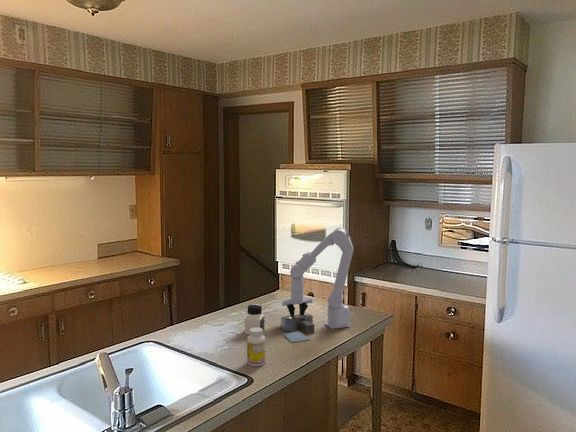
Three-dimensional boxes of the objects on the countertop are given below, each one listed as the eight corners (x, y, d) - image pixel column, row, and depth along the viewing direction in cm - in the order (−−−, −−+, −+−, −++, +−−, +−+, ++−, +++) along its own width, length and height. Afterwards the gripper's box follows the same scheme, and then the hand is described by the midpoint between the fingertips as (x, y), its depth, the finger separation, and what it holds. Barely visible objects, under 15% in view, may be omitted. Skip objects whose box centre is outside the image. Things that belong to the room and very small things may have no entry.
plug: (300, 321, 224) (300, 314, 223) (314, 332, 210) (314, 324, 209) (292, 322, 222) (293, 315, 222) (306, 333, 208) (306, 325, 208)
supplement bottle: (247, 359, 181) (247, 326, 179) (264, 359, 181) (265, 326, 180) (247, 367, 174) (247, 332, 173) (265, 366, 175) (265, 332, 173)
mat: (300, 332, 210) (300, 331, 210) (309, 340, 200) (309, 339, 200) (282, 334, 207) (283, 333, 207) (291, 343, 198) (291, 342, 198)
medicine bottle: (260, 335, 205) (260, 308, 204) (244, 334, 207) (244, 307, 205) (264, 330, 212) (264, 303, 211) (248, 328, 214) (248, 302, 212)
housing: (309, 324, 220) (309, 312, 219) (313, 328, 215) (314, 315, 215) (281, 328, 215) (281, 315, 214) (285, 331, 210) (285, 319, 210)
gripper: (308, 287, 227) (307, 315, 229) (279, 289, 222) (279, 318, 223) (314, 290, 221) (314, 319, 222) (284, 293, 215) (284, 323, 217)
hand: (296, 319), depth 222 cm, fingers closed on plug, 4 cm apart
